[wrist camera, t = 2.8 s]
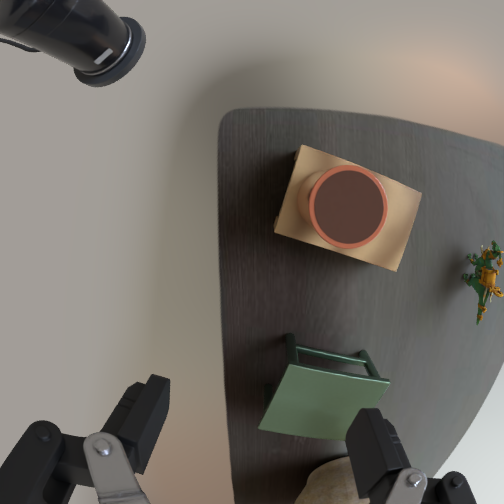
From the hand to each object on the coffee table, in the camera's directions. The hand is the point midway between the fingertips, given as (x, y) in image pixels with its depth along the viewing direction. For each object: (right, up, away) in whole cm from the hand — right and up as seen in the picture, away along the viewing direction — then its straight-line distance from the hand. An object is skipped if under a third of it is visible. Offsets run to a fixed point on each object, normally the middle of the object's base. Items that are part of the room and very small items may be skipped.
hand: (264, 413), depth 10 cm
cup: (+7, +11, +17) cm, 21 cm away
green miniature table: (+8, -10, +27) cm, 30 cm away
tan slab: (+10, +12, +22) cm, 26 cm away
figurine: (+31, +3, +23) cm, 39 cm away
